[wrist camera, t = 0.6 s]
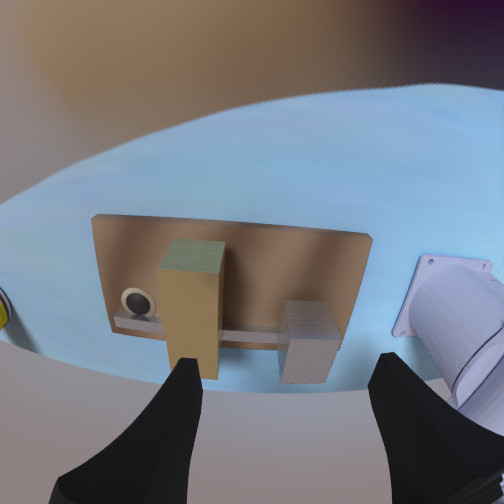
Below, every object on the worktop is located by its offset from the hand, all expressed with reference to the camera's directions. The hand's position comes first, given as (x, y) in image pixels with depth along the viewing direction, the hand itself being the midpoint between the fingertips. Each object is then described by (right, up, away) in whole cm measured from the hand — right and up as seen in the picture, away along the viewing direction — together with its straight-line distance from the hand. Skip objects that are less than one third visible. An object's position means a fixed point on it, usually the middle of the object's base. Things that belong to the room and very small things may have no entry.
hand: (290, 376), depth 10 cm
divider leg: (-5, +2, +9) cm, 10 cm away
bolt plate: (-3, +2, +10) cm, 11 cm away
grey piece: (-4, 0, +10) cm, 11 cm away
